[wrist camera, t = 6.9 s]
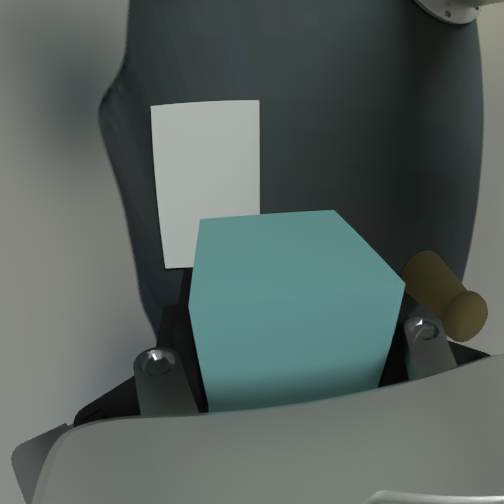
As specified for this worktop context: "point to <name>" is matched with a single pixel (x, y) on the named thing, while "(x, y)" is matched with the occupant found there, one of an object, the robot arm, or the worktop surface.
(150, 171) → the worktop surface
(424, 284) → the cork
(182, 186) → the mat
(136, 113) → the worktop surface
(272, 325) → the link
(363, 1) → the worktop surface
